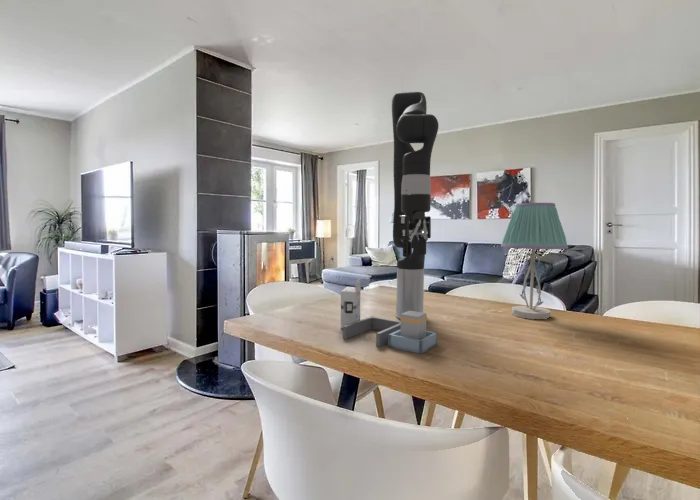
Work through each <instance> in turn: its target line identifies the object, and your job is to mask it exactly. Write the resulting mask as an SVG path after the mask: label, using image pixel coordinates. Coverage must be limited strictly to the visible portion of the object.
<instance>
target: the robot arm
mask: <svg viewBox="0 0 700 500" xmlns="http://www.w3.org/2000/svg"><path fill="white" fill-rule="evenodd" d="M427 111H428V110H427V97H426V96H425V93H423V92H420V91H408V92H407V91H406V92H395V93H393V95H392V99H391V119H392V135H393V190H394V191H393V193H394V196H393V198H394V199H393V200H394V201H393V202H394V204H393V207H394V208H393V220H392V221H393V222H392V223H393V224H392V241H393V244H394V246H395V247H396V248H398V249H402V258H399V259H398V260H397V261H396V262H397V263H396V305H395V306H396V312H395V316H396V318H397V319H399V320H400V319H401V314H402V313H405V312H407V311H416V312H422V313H424V301H425V300H424V297H425V296H424V295H425V290H424V289H425V288H424V287H425V285H424V284H425V280H424V279H425V262H426V261H425V258H426V254H427V241H429V239H431V235H432V232H431V231H432V230H431V229H432V228H431V227H432V226H431V225H432V220H431V219H432V218H431V216H426V214H425V213H429V212H430V211H431V194H432V192H431V191H432V182H431V162H432V161H431V158H432V152H433V148H434V145H435V141H436V138H437V135H438V132H439V121H438V119H437V117H436V116H435V115H433V114H431V113H429V114H428V113H427ZM411 144H423V145H422V147H421V148H420V149H417V150H415V149H414V147H413V146H412V145H411Z"/></svg>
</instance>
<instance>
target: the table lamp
mask: <svg viewBox="0 0 700 500" xmlns="http://www.w3.org/2000/svg"><path fill="white" fill-rule="evenodd" d="M514 206H515V207H514V209H513V212H512V216H511V218H510V220H509V223H508V225H507V228H506V231H505V233H504V236H503V237H502V241H501V244H500V247H501V248H509V249H510V248H512V249H526V250H527V249H528V250H529V249H530V250H531V252H527V253H526V258H525V260H526V262H528V257H530V263H529V265H528V267H527V268H525V269H524V270H523V275H524V279H523V282H522V283H523V285H522V286H523V287H522V291H521V293H518V294H519V296H520V297H521V298H522V299H523V300H524V301H525V304H526V305H514V306H511V315H512V316H514V317H516V316H517V318H521V319H525V318H527V319H528V320H534V319H546V320H548V319H547V318H549V317H552V315H551V313H552V312H551V310H550V309H547V308H544V307H540V306H541V305H542V304H544V302H545V301H544V300H543V301H542V297H541V294H542V291H541V290H542V289H541V283H540V280H541V277H542V276H544V273H545V270H546V268H545V266H544V264H543V262H540V261H541V257H540V255H539V254H538V253H537V254H536V250H568V249H569V245H568V242H567V237H566V235H565V231H564V229H563V225H562V222H561V220H560V216H559V214H558V210H557V207H556V203H555V202H520V203H516V204H515V205H514ZM536 257H537V258H538V261H537V262H536ZM529 275H530V282H529V283H530V286H529V302H528V299H527V296H526V291H525V290H526V288H527V286H528V282H527V280H528V277H529ZM534 278H536V282H537V285H536V286H535V290H536V293H537V294H538V295H537V301H536V303H535V305H533V304H534V303H533V301H534V297H533V296H534V282H535V281H534V280H535V279H534ZM527 319H526V320H527ZM549 319H550V318H549Z"/></svg>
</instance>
